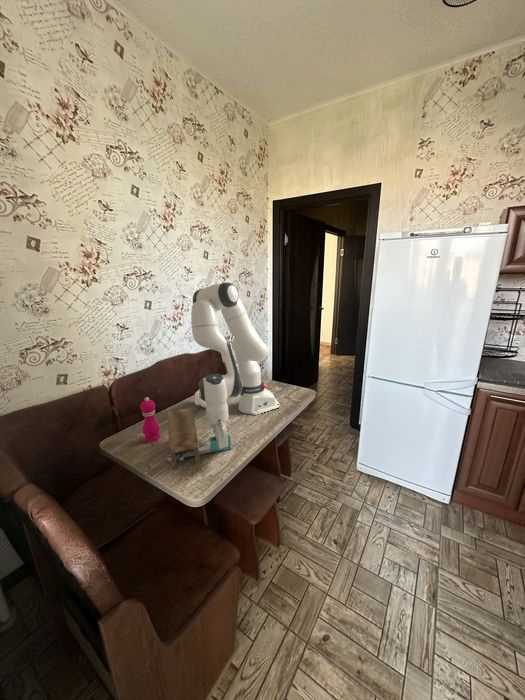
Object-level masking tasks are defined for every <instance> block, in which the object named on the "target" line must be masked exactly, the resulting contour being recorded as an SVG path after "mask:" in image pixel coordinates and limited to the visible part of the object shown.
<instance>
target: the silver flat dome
mask: <svg viewBox="0 0 525 700" xmlns="http://www.w3.org/2000/svg"><path fill="white" fill-rule="evenodd" d="M175 456H176V463H177V462H178V461H180V459H179V453H178V452H175ZM166 457H167V462H168V463H170V464H172V460H171V453H170V454H169V455H168V456H166Z"/></svg>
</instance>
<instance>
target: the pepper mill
mask: <svg viewBox="0 0 525 700" xmlns="http://www.w3.org/2000/svg"><path fill="white" fill-rule="evenodd" d="M155 409H156V403H155V402H154V400H152V399H150V398H149V397H148V396H147V397H144V400H143V401H142V402H141V403H140V410H141V412H142V416H143V417H144V421H143V426H142V434H143V435H144V441H147V443H153V442H156V441H158V440H159V439H160V437H161V434H160V431H161V426H160V424H159V423H158V422H157V420H156V418H155V417H156V416H155V413H156V410H155Z"/></svg>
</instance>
